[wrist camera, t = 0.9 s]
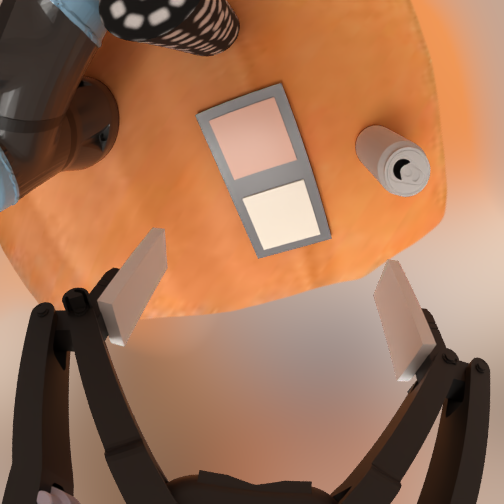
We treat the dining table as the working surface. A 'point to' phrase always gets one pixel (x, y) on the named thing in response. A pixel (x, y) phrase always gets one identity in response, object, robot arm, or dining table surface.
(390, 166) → the beverage can
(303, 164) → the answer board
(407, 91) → the dining table surface
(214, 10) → the spotted tube
